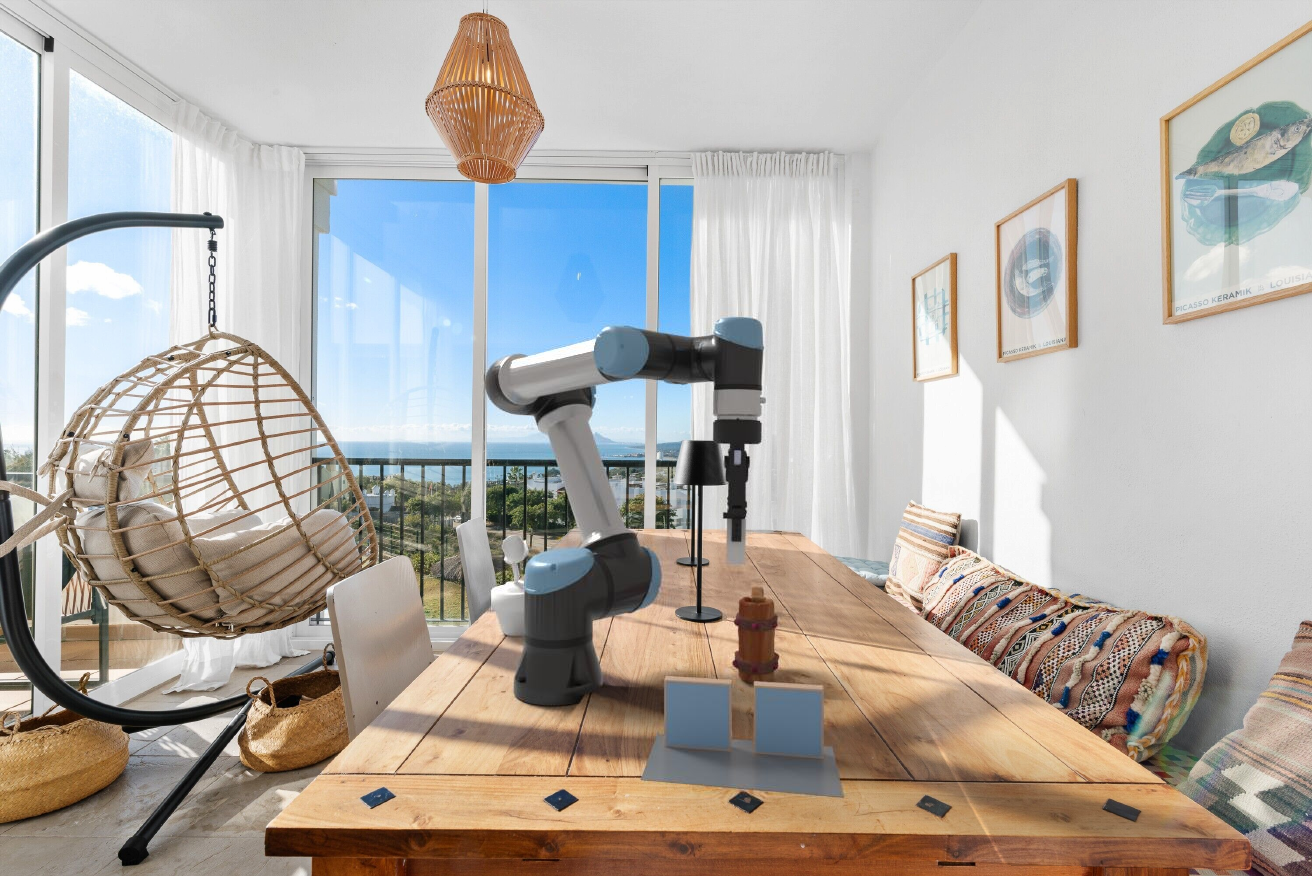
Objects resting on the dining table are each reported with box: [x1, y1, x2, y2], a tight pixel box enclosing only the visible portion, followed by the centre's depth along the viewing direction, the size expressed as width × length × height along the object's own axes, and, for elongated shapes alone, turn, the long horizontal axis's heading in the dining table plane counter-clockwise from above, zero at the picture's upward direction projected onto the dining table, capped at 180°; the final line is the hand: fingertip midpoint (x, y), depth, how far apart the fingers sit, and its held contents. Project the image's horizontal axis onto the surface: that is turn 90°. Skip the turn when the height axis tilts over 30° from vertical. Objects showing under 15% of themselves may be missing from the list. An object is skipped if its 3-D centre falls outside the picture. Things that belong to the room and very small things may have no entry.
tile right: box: [753, 681, 825, 759], centre depth 88 cm, size 9×2×9 cm, turn 81°
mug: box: [731, 586, 780, 684], centre depth 122 cm, size 15×8×15 cm, turn 168°
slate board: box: [640, 733, 844, 799], centre depth 86 cm, size 24×13×1 cm, turn 81°
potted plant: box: [490, 529, 540, 637], centre depth 148 cm, size 13×12×25 cm
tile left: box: [663, 675, 733, 752], centre depth 90 cm, size 9×2×9 cm, turn 81°
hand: (735, 555), depth 103 cm, fingers open, 13 cm apart
